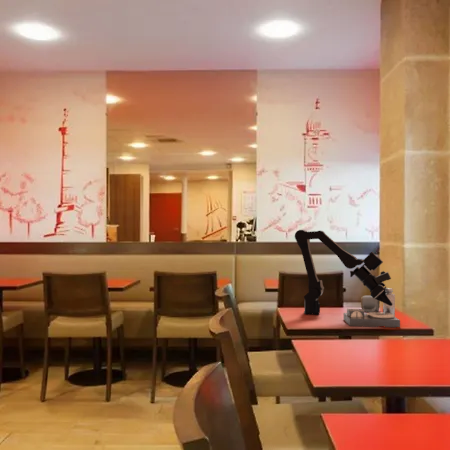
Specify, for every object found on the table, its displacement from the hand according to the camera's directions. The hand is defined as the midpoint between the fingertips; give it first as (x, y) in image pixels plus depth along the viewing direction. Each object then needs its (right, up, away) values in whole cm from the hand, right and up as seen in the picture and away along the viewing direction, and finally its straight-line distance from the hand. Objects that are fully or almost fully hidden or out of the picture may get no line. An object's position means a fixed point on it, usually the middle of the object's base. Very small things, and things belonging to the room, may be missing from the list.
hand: (392, 303), depth 222 cm
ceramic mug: (-3, -7, +23) cm, 24 cm away
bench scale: (-13, -6, -11) cm, 18 cm away
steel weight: (-1, -7, 0) cm, 7 cm away
